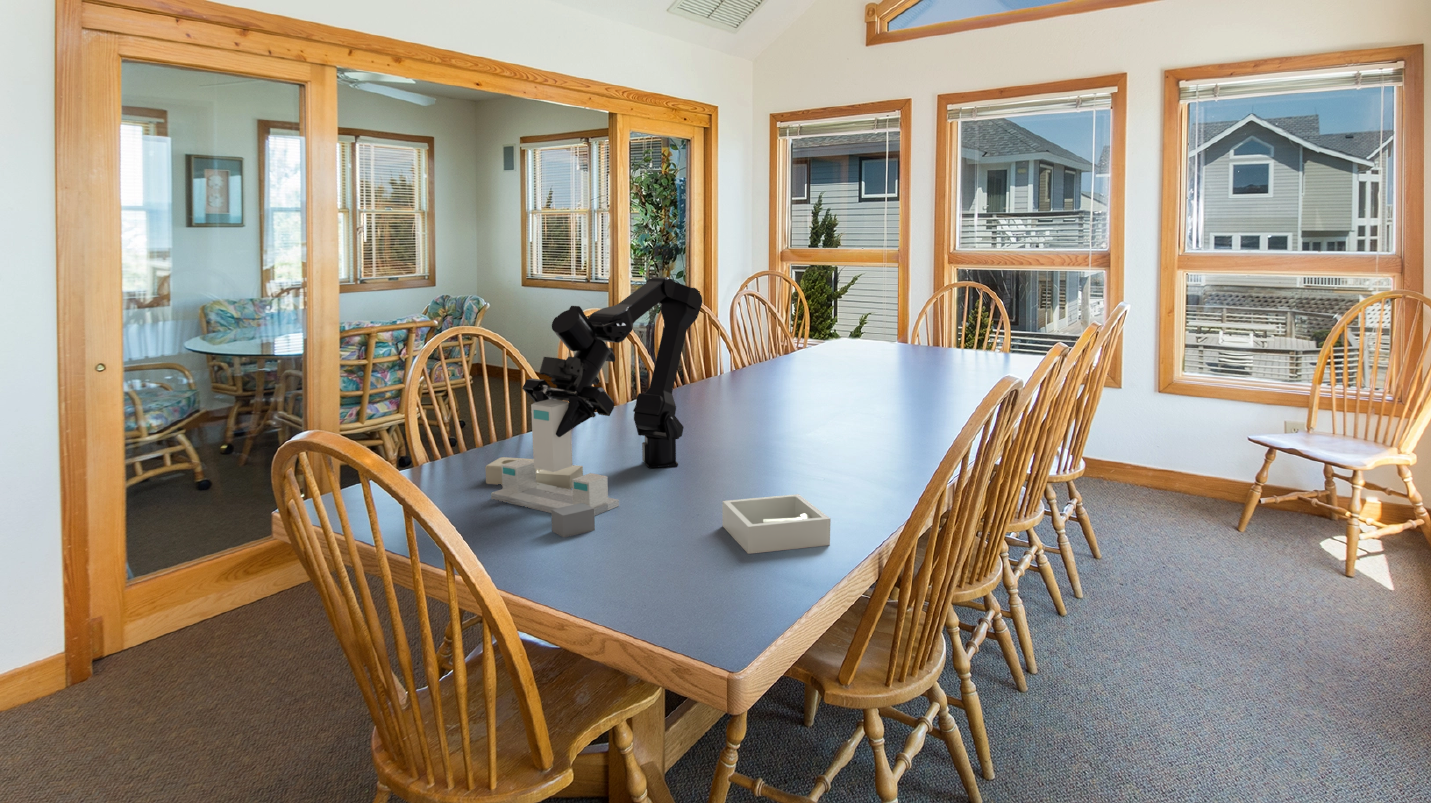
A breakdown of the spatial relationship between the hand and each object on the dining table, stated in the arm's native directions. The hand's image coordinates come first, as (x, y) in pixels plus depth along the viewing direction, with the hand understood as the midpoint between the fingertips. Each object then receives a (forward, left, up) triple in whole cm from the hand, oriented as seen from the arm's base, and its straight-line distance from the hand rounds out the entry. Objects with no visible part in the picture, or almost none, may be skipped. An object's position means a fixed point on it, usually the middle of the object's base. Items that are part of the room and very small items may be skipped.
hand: (546, 433), depth 167 cm
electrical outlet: (+1, -16, -14) cm, 21 cm away
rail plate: (-1, -1, -13) cm, 13 cm away
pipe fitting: (-35, +29, -14) cm, 48 cm away
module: (-1, -1, -7) cm, 7 cm away
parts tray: (-34, +28, -13) cm, 46 cm away
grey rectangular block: (-2, +16, -14) cm, 21 cm away
